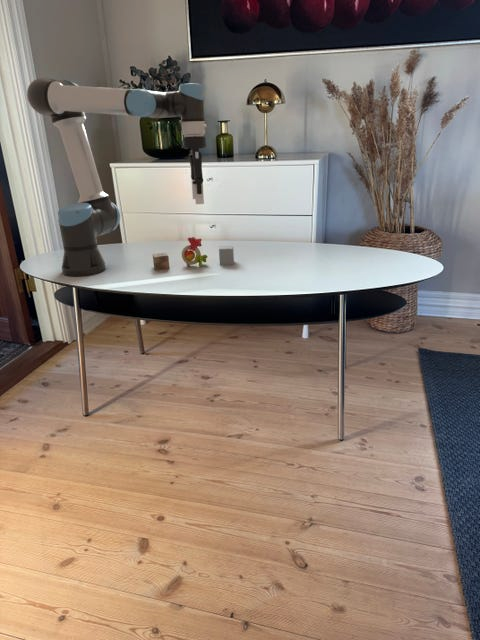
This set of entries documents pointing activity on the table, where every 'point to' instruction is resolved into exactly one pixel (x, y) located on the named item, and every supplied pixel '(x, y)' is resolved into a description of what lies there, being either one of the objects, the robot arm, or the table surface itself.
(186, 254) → the bird rattle
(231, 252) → the grey block
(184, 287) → the table surface
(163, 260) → the walnut block
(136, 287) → the table surface
